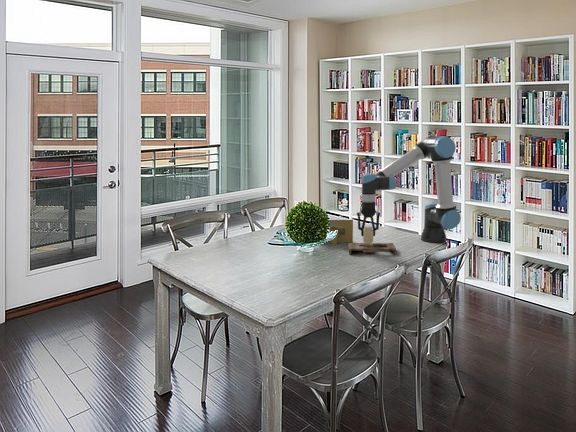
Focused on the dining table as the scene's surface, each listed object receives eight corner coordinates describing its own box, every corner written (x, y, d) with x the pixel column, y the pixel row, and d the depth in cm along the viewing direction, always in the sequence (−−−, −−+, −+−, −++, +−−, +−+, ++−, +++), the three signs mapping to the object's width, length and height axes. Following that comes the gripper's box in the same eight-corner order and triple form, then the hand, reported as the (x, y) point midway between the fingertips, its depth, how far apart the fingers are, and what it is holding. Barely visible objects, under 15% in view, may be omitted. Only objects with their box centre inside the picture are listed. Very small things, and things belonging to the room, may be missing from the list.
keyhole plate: (392, 248, 294) (392, 242, 293) (395, 254, 281) (396, 248, 281) (348, 248, 296) (348, 243, 295) (349, 254, 283) (349, 248, 283)
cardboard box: (352, 241, 313) (352, 218, 309) (353, 246, 304) (353, 223, 300) (315, 241, 315) (315, 218, 311) (314, 246, 307) (314, 223, 302)
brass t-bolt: (372, 249, 291) (373, 226, 289) (373, 252, 286) (374, 228, 283) (362, 249, 292) (362, 226, 289) (363, 252, 286) (363, 228, 283)
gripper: (353, 202, 280) (353, 243, 285) (384, 202, 279) (383, 243, 283) (352, 200, 287) (352, 240, 292) (383, 200, 286) (382, 240, 291)
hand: (368, 241), depth 288 cm, fingers closed on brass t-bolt, 4 cm apart
